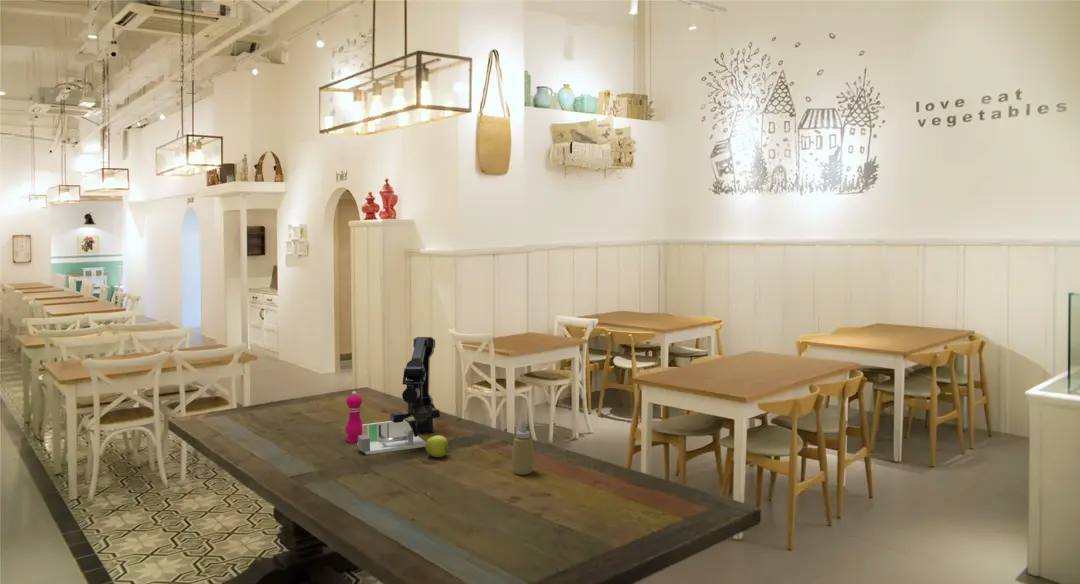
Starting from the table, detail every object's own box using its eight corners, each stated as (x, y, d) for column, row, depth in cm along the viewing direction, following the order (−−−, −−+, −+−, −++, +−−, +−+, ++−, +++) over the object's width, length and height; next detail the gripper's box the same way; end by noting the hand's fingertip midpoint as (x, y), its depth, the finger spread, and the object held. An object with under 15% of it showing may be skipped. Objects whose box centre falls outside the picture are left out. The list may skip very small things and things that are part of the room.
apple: (446, 460, 282) (446, 439, 281) (422, 459, 284) (422, 438, 283) (453, 454, 289) (452, 433, 289) (429, 453, 291) (429, 432, 291)
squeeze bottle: (537, 470, 271) (537, 419, 269) (530, 477, 263) (530, 425, 262) (516, 468, 273) (516, 418, 272) (508, 475, 266) (507, 423, 264)
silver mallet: (404, 436, 308) (404, 422, 308) (413, 444, 298) (413, 428, 298) (374, 440, 303) (374, 425, 302) (382, 448, 293) (382, 432, 292)
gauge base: (416, 437, 312) (416, 418, 312) (427, 446, 300) (427, 425, 300) (353, 446, 301) (353, 425, 300) (362, 455, 289) (361, 433, 288)
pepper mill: (366, 438, 312) (365, 389, 310) (360, 443, 305) (359, 393, 303) (349, 437, 312) (348, 389, 311) (343, 442, 305) (342, 393, 304)
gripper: (397, 404, 288) (398, 445, 289) (444, 398, 297) (445, 438, 298) (389, 398, 298) (389, 437, 299) (435, 393, 307) (435, 431, 308)
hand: (415, 436), depth 301 cm, fingers closed
